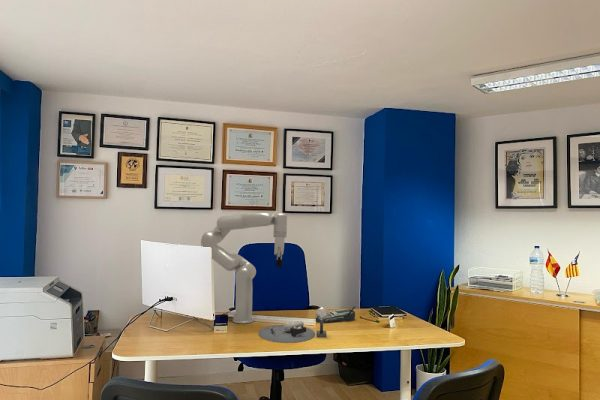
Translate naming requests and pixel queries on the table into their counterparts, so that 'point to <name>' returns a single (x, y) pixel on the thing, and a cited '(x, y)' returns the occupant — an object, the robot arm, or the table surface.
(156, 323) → the table surface
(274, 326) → the mat
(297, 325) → the clip-on lamp
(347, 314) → the communication device
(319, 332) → the square-base wall hook
